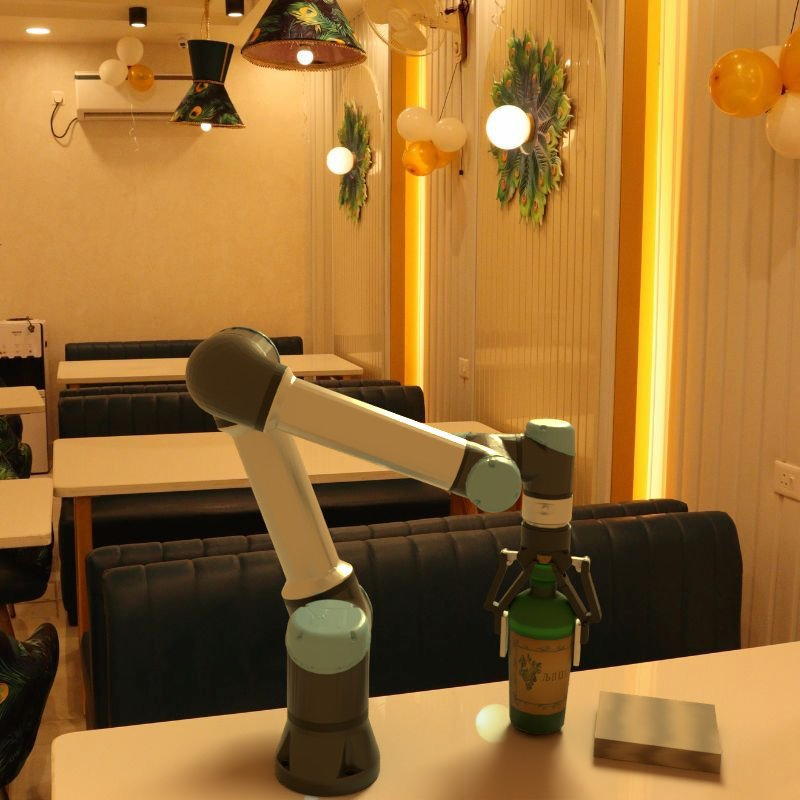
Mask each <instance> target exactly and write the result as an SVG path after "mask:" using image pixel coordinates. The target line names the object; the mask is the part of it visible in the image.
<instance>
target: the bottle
mask: <svg viewBox="0 0 800 800" xmlns="http://www.w3.org/2000/svg"><path fill="white" fill-rule="evenodd" d="M537 558H538V560H539V565H538V564H535V567H534V570H533V571H531V574H530V578H529V588H527V589H526V590H523V591H522V592H520V593H517V595H516V596H515V597H514V599H513V600H512V601H511V603H510V604H509V605H508V607H507V611H508V641H507V651H508V699H509V700H508V702H509V703H508V705H509V707H508V709H509V711H508V712H509V713H508V714H509V722H510V724H511V725H512V726H514V727H515V728H517V729H518V730H520V731H522V732H526V733H529V734H532V735H548V734H551V733H555V732H559V731H560V730H561V729H562V728H563V727H564V725H565V720H566V719H565V718H566V712H567V711H566V709H567V703H568V694H569V685H570V676H571V669H572V661H573V653H574V645H575V628H576V621H577V619H578V617H577V615H576V614H575V612H574V610H573V608H572V607H571V605H570V603H569V601H568V600H567V598H566V596H565V594H564V593H563V592H562V593H561V592H560V591H558V590H557V588H558V584H557V582H556V576H555V573H553V571H552V567H551V566H548V563H549V561H550V560H551V556H549V555H539V554H537Z"/></svg>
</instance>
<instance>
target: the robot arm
mask: <svg viewBox="0 0 800 800" xmlns="http://www.w3.org/2000/svg"><path fill="white" fill-rule="evenodd" d="M185 366H186V367H185V371H184V373H185V374H184V376H185V384H186V389H187V391H188V393H189V395H190V397H191V399H192V400H193V402H194V403H196V405H197V406H198V407H199V408H200V409H202V410H204V412H206V413H208V414H209V415H212V417H213V420H214V421H215V424H216V427H217V430H218V431H221V432H222V433H225V434H227V435H229V436H231V437H232V440H233V443H234V446H235V447H236V451H237V452H238V455H239V459H240V461H241V463H242V466H243V469H244V472H245V473H246V477H247V478H248V479H247V480H248V481H249V485H250V487H251V490H252V493H253V495H254V498H255V500H256V503H257V505H258V508H259V510H260V513H261V516H262V519H263V521H264V523H265V526H266V529H267V531H268V535H269V537H270V539H271V542H272V544H273V547H274V548H273V549H274V550H275V552H276V555H277V558H278V560H279V563H280V565H281V566H280V567H281V568H282V571H283V573H284V577H285V579H286V581H285V583H284V586H283V587H282V590H281V597H282V599H283V602H284V604H285V607H286V610H287V612H288V615H289V619H288V623H287V628H286V632H285V639H284V640H285V647H286V683H287V684H286V705H287V706H286V707H287V708H286V722H285V724H284V726H283V727H284V728H283V731H282V733H281V736H280V739H279V743H278V746H277V748H276V751H275V755H274V773H275V777H276V778H277V780H278V781H279V783H280V784H281V785H283V786H284V787H285V788H287V789H289V790H290V791H292V792H295V793H297V794H301V795H305V796H309V797H316V798H317V797H318V798H336V797H340V796H341V797H342V796H346V795H350V794H351V795H352V794H354V793H357V792H359V791H361V790H364V789H365V788H368V787H369V786H370V785H372V784H373V783H374V782H375V780H377V778H378V777H379V775H380V771H381V751H380V749H379V745H378V743H377V740H376V736H375V733H374V730H373V727H372V725H371V722H370V718H369V717H370V715H369V709H370V708H369V707H370V706H369V704H370V703H369V701H370V699H369V698H370V657H371V656H370V651H371V650H370V649H371V642H372V641H371V640H372V628H373V618H374V617H373V613H374V612H373V606H372V604H371V603H372V602H371V601H370V598H369V596H368V594H367V592H366V590H365V589H364V588H363V586H361V584H359V580H358V578H357V575H356V574H355V570H354V567H353V566H352V565H351V564H350V563H348V562H346V561H344V560H341V559H340V558H339V554H338V553H337V550H336V547H335V545H334V542H333V539H332V537H331V534H330V531H329V528H328V526H327V523H326V520H325V518H324V515H323V512H322V509H321V507H320V504H319V501H318V499H317V496H316V494H315V493H316V492H315V491H314V489H313V486H312V483H311V480H310V477H309V474H308V471H307V469H306V466H305V464H304V461H303V458H302V455H301V454H300V453H301V452H300V450H299V447H298V444H297V442H296V440H295V437H297V438H300V439H303V440H305V441H308V442H311V443H313V444H316V445H319V446H322V447H325V448H327V449H329V450H330V449H331V450H333V451H336V452H338V453H342V454H344V455H348V456H350V457H352V458H356V459H359V460H361V461H364V462H366V463H367V462H368V463H370V464H372V465H375V466H377V467H381V468H382V469H386V470H389V471H392V472H395V473H398V474H400V475H403V476H406V477H408V478H411V479H414V480H417V481H420V482H422V483H425V484H428V485H431V486H433V487H436V488H439V489H442V490H445V491H448V492H451V493H452V494H455V495H457V496H460V497H463V498H465V499H468V500H469V501H470V502H471V503H472V504H473V505H475V506H476V507H477V508H478V509H479V510H481V511H483V512H486V513H492V514H493V513H494V514H495V513H500V512H501V513H502V512H504V511H506V510H508V509H509V508H510V509H511V508H512V507H513V506H514V505H515V503H516V502H517V501H518V500H519V498H520V496H521V493H522V500H521V501H522V506H521V517H522V519H523V520H522V521H521V525H520V546H519V549H518V551H517V550H516V551H515V550H509V549H508V548H505V547H504V548H502V549H501V551H500V552H499V556H498V568H497V571H496V573H495V576H494V577H493V580H492V583H491V586H490V588H489V590H488V592H487V593H488V594H487V595H486V598H485V601H484V603H483V606H482V607H483V610H485V611H489V612H491V613H493V615H494V623H493V624H494V626H493V627H494V628H493V631H494V634H495V635H500V644H499V645H500V649H499V650H500V651H499V657H501V658H506V655H507V651H508V610H507V609H508V605H509V604H510V603H511V601H512V600H513V599H514V597H516V596H517V595H518V594H519V592H520V591H521V589H523V587H524V585H526V583H527V582H528V581H529V580H530V574H531V571H533V570H534V567H535V564H538V565H539V560H538V558H537V554H539V555H549V556H551V560H550V561H549V563H548V566H551V567H552V571H553V573H555V576H556V582H557V587H559V589H560V590H561V591H562V594H563V595H564V596H566V598H567V600H568V601H569V603H570V605H571V607H572V608H573V610H574V612H575V614H576V615H577V618H576V627H575V635H574V645H573V666H575V667H579V665H580V657H581V645H587V644H588V642H589V631H590V630H589V629H590V627H589V626H590V625H591V624H593V623H596V624H597V623H600V622H601V620H602V610H601V606H600V603H599V599H598V595H597V593H596V589H595V585H594V583H593V582H594V581H593V579H592V576H591V571H590V566H591V558H590V556H588V555H584V556H583V557H578V556H573V555H572V553H571V537H572V535H571V534H572V525H571V524H570V523H569V522H571V521H572V519H573V517H572V516H573V515H572V514H573V502H574V501H573V499H574V495H573V492H574V491H573V490H574V477H575V462H576V456H577V453H576V430H575V427H574V426H573V425H572V424H571V423H570V422H569V421H566V420H561V419H555V418H540V419H539V418H538V419H537V418H536V419H531V420H529V421H527V422H526V424H525V429H524V431H523V432H519V433H501V432H500V433H497V432H495V433H493V432H472V431H466V432H451V433H449V432H446V431H443V430H440V429H438V428H434V427H432V426H430V425H428V424H424V423H422V422H418V421H415V420H413V419H411V418H408V417H405V416H402V415H400V414H396V413H394V412H391V411H388V410H386V409H383V408H382V407H381V408H380V407H377V406H376V405H375V406H374V405H372V404H369V403H367V402H365V401H361V400H359V399H355V398H352V397H350V396H348V395H345V394H342V393H339V392H337V391H334V390H331V389H328V388H325V387H323V386H320V385H317V384H315V383H312V382H309V381H307V380H304V379H301V378H298V377H296V376H295V374H294V372H293V370H292V369H291V367H289V366H288V365H284V364H282V363H281V356H280V353H279V352H278V349H277V348H276V345H275V344H274V343H273V341H272V339H270V338H269V337H268V336H267V335H265V334H264V333H263V332H261V331H259V330H258V329H254V328H251V327H248V326H232V327H229V328H223V329H221V330H219V331H216V332H215V333H213V334H212V335H211V336H210V337H208V338H206V339H204V340H203V341H201V342H200V343H199V344H198V345H197V346H196V347H195V348H194V349H193V351H191V354H190V355H189V358H188V359H187V362H186V365H185ZM522 486H523V487H522ZM515 560H517V562H518V563H519V565H520V567H521V568H522V571H521V572H520V573H519V575H518V576H517V577H516V578H515V581H514V582H513V583H512V584H511V586H510V587H509V588H508V590H507V591H506V593H504V595H503V596H502V598H501V599H499V602H497V601H495V599H496V597H497V594H498V592H499V589H500V587H501V584H502V582H503V579H504V576H505V574H506V571H507V569H508V567H509V566H511V565H513V563H514V561H515ZM571 566H574V567H575V570H576V572H577V573H580V578H581V579H580V580H581V582H582V587H583V590H584V594H585V597H586V600H587V604H588V607H589V611H590V612H588V611H587V609H586V606H585V605H584V603H583V601H582V600H581V598H580V597H579V594H578V593H577V591H576V590H575V587H574V585H573V583H572V582H571V580H570V578H569V576H568V574H567V572H566V571H568V570H569V568H570V567H571Z"/></svg>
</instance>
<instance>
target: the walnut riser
mask: <svg viewBox="0 0 800 800" xmlns="http://www.w3.org/2000/svg"><path fill="white" fill-rule="evenodd" d="M598 696H599V697H598V702H597V703H598V704H597V713H596V722H595V733H594V741H593V742H594V744H593V757H596V758H603V759H611V760H617V761H618V760H619V761H625V762H631V763H639V764H647V765H655V766H661V767H662V766H663V767H670V768H678V769H684V770H691V771H700V772H707V773H713V774H721V765H722V750H721V741H720V734H719V729H718V720H717V713H716V705H715V704H712V703H704V702H703V703H702V702H695V701H686V700H677V699H672V698H671V699H670V698H662V697H653V696H647V695H646V696H645V695H636V694H629V693H621V692H620V693H619V692H612V691H604V690H599V695H598Z"/></svg>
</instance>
